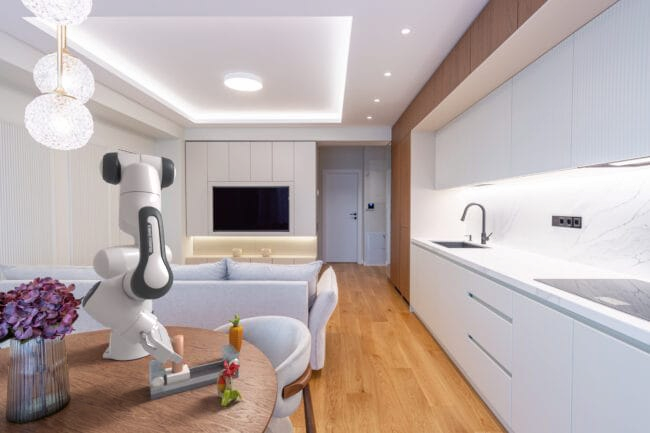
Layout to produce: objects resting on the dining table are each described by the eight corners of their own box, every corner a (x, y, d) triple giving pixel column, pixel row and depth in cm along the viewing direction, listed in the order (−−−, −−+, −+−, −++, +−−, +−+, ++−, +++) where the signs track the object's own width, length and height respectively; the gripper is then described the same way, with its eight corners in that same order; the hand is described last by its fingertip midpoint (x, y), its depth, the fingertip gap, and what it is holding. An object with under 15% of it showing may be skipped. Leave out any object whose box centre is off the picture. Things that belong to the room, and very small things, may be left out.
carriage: (164, 378, 94) (165, 335, 94) (186, 373, 97) (187, 331, 97) (167, 387, 89) (167, 342, 89) (189, 381, 92) (190, 338, 92)
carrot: (238, 362, 108) (239, 318, 108) (225, 360, 109) (226, 317, 109) (245, 355, 113) (245, 314, 113) (232, 354, 114) (233, 313, 114)
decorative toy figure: (210, 409, 86) (226, 409, 80) (203, 366, 89) (218, 363, 83) (230, 399, 90) (247, 399, 85) (223, 359, 93) (239, 356, 88)
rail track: (148, 386, 93) (149, 360, 92) (231, 366, 106) (231, 343, 105) (150, 401, 85) (151, 373, 85) (239, 377, 98) (239, 353, 98)
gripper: (151, 329, 80) (192, 359, 85) (147, 308, 97) (181, 333, 102) (131, 351, 78) (174, 380, 83) (129, 325, 95) (165, 350, 100)
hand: (178, 354), depth 93 cm, fingers open, 8 cm apart
